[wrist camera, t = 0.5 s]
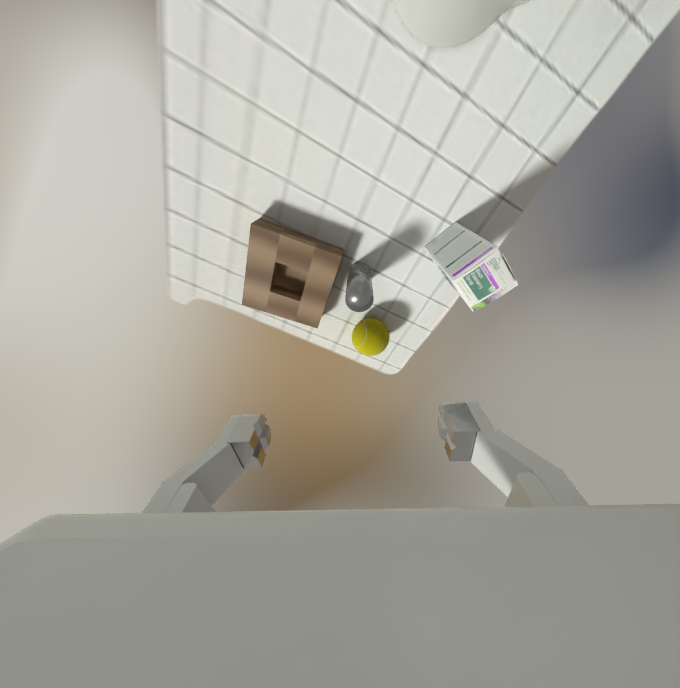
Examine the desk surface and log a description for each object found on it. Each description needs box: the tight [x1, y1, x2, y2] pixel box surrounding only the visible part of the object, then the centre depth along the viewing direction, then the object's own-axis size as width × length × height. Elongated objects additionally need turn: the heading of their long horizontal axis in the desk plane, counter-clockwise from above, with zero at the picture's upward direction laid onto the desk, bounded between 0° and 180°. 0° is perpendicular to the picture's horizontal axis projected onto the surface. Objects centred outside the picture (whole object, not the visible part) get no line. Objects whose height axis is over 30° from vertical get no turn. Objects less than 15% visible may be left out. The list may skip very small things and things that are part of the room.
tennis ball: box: [352, 318, 389, 356], centre depth 47 cm, size 7×7×7 cm
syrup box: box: [425, 222, 518, 311], centre depth 35 cm, size 6×6×14 cm
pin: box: [346, 262, 373, 312], centre depth 40 cm, size 4×4×10 cm
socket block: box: [242, 218, 343, 328], centre depth 43 cm, size 14×14×4 cm
